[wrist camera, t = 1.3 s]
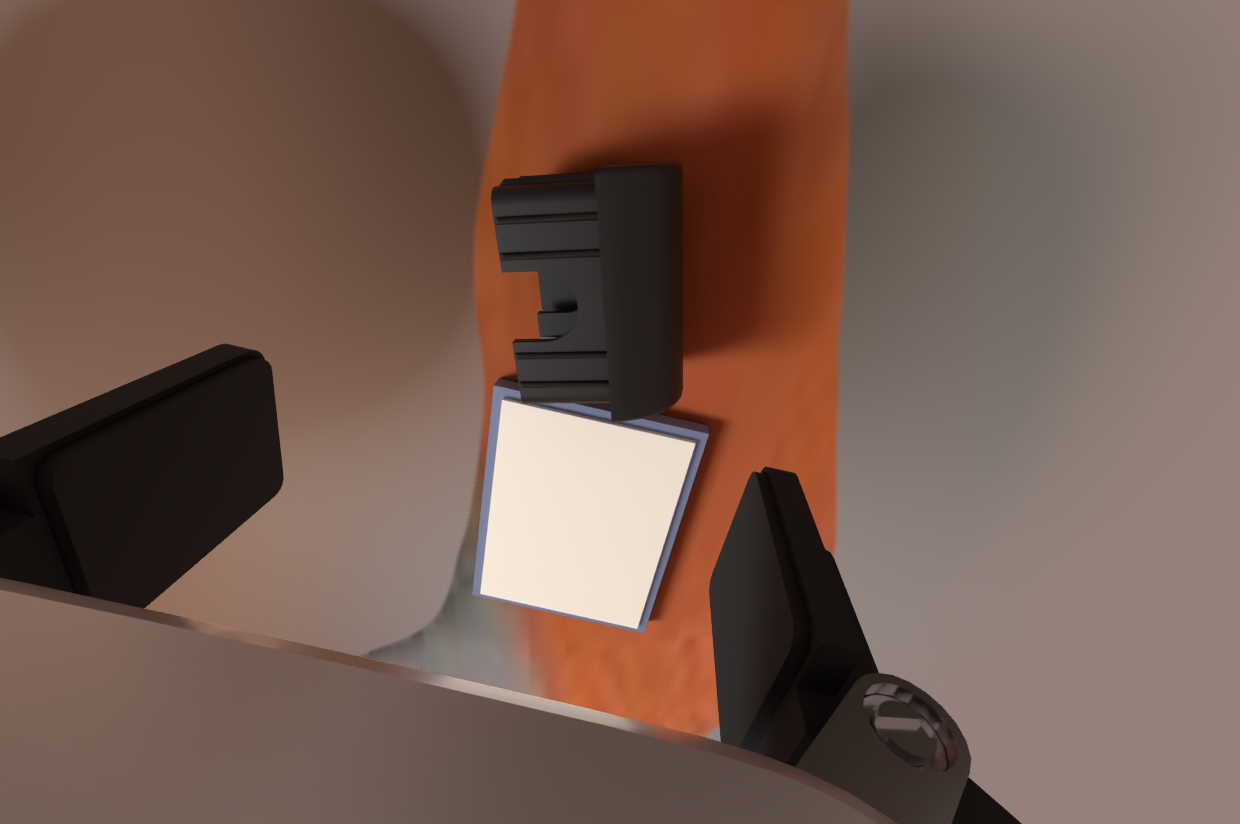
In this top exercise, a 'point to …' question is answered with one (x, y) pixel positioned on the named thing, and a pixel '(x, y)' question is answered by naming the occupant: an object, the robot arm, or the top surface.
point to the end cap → (599, 284)
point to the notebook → (581, 507)
